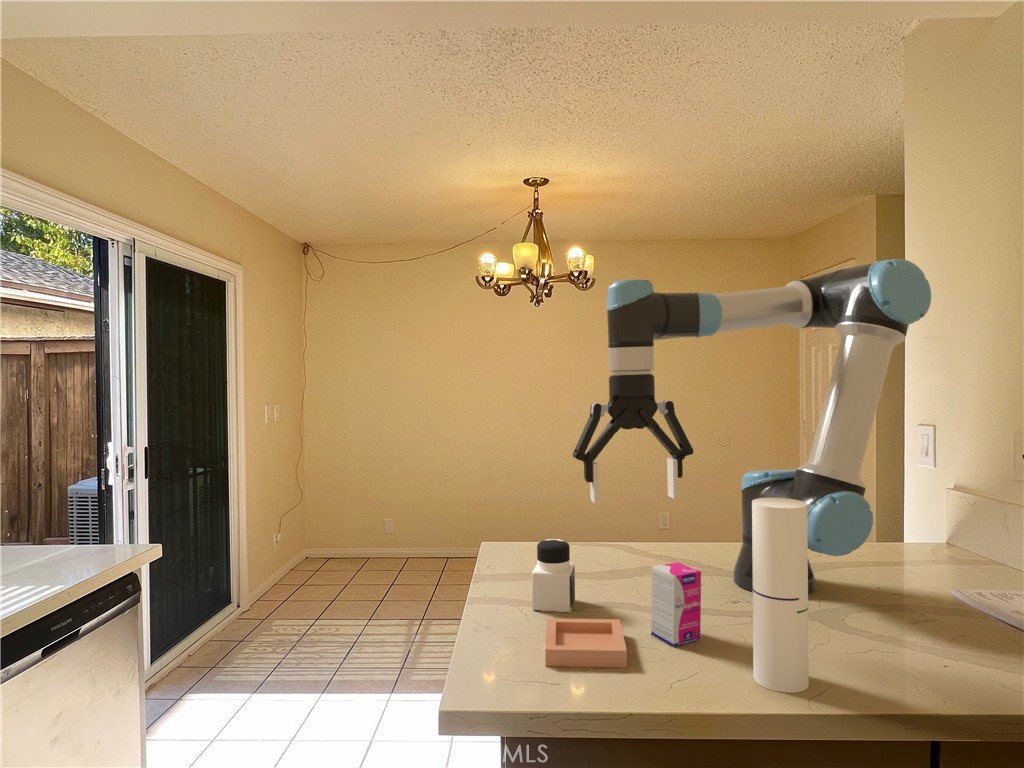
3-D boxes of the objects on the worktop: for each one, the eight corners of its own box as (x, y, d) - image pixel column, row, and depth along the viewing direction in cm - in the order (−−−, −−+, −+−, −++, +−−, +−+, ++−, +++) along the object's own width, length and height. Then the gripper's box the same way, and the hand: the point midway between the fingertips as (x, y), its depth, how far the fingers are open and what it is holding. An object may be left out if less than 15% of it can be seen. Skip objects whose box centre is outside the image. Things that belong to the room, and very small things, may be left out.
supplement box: (674, 648, 102) (673, 575, 102) (650, 635, 107) (649, 566, 107) (702, 640, 105) (701, 570, 104) (677, 627, 110) (676, 560, 110)
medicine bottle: (571, 613, 117) (570, 547, 117) (532, 611, 119) (531, 545, 118) (575, 599, 124) (574, 537, 124) (538, 597, 126) (537, 535, 125)
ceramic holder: (619, 634, 108) (619, 619, 108) (627, 667, 96) (626, 650, 96) (547, 633, 109) (547, 618, 109) (545, 666, 97) (545, 649, 97)
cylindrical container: (744, 669, 94) (743, 498, 94) (791, 667, 95) (790, 496, 94) (768, 694, 87) (766, 509, 87) (819, 691, 88) (817, 507, 87)
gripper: (693, 371, 114) (695, 491, 115) (553, 375, 111) (556, 498, 112) (711, 371, 107) (714, 499, 107) (562, 375, 104) (566, 507, 104)
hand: (634, 499), depth 109 cm, fingers open, 13 cm apart
